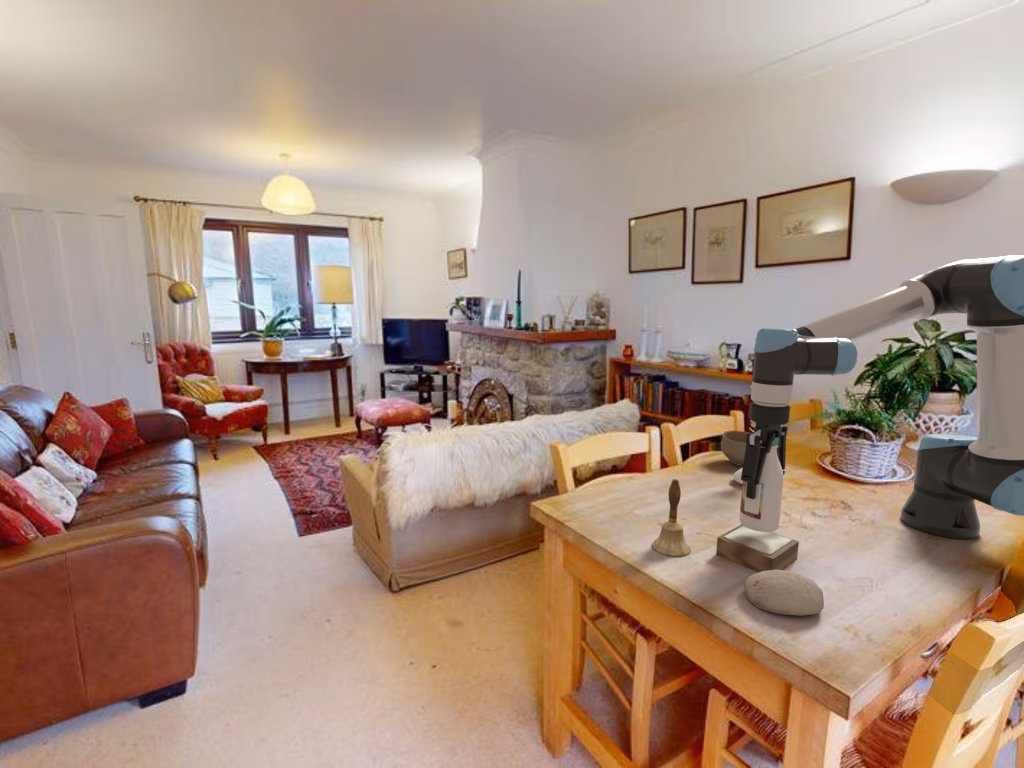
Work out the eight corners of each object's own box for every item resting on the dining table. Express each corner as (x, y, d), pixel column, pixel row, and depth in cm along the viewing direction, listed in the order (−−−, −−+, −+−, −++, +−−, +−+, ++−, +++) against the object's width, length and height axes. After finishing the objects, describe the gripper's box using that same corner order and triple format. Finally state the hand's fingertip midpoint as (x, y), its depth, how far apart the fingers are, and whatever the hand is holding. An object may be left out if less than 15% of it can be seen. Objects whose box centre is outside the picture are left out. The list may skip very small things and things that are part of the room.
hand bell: (648, 538, 120) (651, 473, 117) (684, 539, 120) (688, 474, 117) (657, 556, 112) (661, 487, 109) (695, 557, 111) (700, 487, 109)
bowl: (739, 471, 166) (742, 442, 165) (711, 460, 178) (713, 432, 176) (769, 467, 171) (771, 438, 169) (739, 456, 183) (742, 429, 181)
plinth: (797, 558, 111) (799, 540, 110) (771, 577, 103) (773, 557, 103) (743, 538, 120) (744, 521, 119) (716, 554, 113) (717, 536, 112)
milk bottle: (770, 518, 114) (778, 431, 111) (784, 534, 106) (794, 441, 103) (734, 516, 115) (741, 430, 111) (746, 532, 107) (754, 439, 104)
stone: (745, 623, 96) (744, 603, 91) (744, 573, 103) (743, 553, 98) (824, 635, 91) (828, 615, 86) (818, 582, 98) (821, 561, 93)
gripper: (774, 394, 115) (765, 491, 119) (727, 406, 103) (719, 513, 106) (810, 399, 110) (799, 500, 113) (765, 412, 97) (755, 526, 101)
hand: (760, 507), depth 110 cm, fingers closed on milk bottle, 8 cm apart
